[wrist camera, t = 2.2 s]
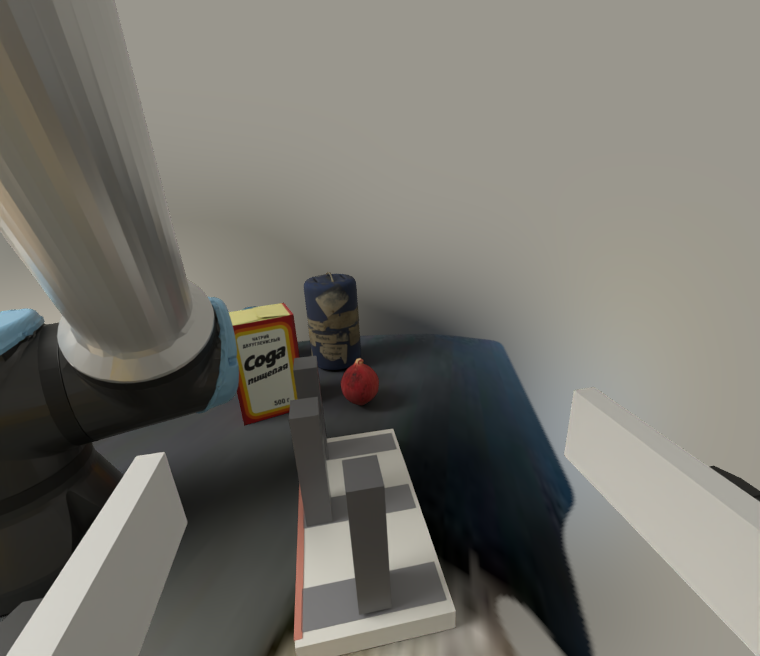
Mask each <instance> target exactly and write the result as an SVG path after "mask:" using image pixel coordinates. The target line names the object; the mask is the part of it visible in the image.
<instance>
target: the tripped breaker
mask: <svg viewBox="0 0 760 656" xmlns="http://www.w3.org/2000/svg"><path fill="white" fill-rule="evenodd" d="M342 466H343V475H344V484H345V493H346V502H347V511H348V520H349V529H350V538H351V547H352V556H353V565H354V574H355V583H356V592H357V601H358V609H359V615H361V614H366V613H370V612H375V611H379V610H384V609H388V608H392V604H391V587H390V570H389V554H388V537H387V520H386V503H385V487H384V482H383V478H382V474H381V470H380V466H379V462H378V458H377V455H372V456H365V457H359V458H353V459H347V460H342Z"/></svg>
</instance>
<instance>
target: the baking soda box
mask: <svg viewBox="0 0 760 656" xmlns="http://www.w3.org/2000/svg"><path fill="white" fill-rule="evenodd" d="M229 315H230V318H231V321H232V325H233V329H234V334H235V340H236V346H237V357H236V358H237V361H238V365H239V383H238V389H237V394H238V399H239V403H240V408H241V412H242V417H243V421H244V425H247V424H251V423H254V422H258V421H261V420H265V419H268V418H272V417H275V416H279V415H282V414H285V413H289V410H290V400H297V392H296V386H295V379H294V373H293V366H294V358H300V357H299V350H298V343H297V337H296V330H295V323H294V316H293V314H292V312H291V311H290V310H289V309H288V307H287V306H286V305H285V304H284V303H280V304H274V305H267V306H261V307H254V308H252V309H246V310H241V311H234V312H229Z"/></svg>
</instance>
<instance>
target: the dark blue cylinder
mask: <svg viewBox="0 0 760 656" xmlns="http://www.w3.org/2000/svg"><path fill="white" fill-rule="evenodd" d="M304 294H305V302H306V310H307V318H308V328H309V337H310V344H311V351H312V356H316V357H317V365H318V367H319V368H322V369H326V370H340V369H345V368H349V367H350V366H352V365H353V364H354V363H355V361H356V359H359V358H360V357H361V346H360V332H359V316H358V303H357V289H356V281H355V279H354V278H353V277H352V276H349V275H344V274H331V273H330V272H327V273H326V274H325V275H320V276H315V277H312V278H309V279H308V280H306V281H305V283H304Z"/></svg>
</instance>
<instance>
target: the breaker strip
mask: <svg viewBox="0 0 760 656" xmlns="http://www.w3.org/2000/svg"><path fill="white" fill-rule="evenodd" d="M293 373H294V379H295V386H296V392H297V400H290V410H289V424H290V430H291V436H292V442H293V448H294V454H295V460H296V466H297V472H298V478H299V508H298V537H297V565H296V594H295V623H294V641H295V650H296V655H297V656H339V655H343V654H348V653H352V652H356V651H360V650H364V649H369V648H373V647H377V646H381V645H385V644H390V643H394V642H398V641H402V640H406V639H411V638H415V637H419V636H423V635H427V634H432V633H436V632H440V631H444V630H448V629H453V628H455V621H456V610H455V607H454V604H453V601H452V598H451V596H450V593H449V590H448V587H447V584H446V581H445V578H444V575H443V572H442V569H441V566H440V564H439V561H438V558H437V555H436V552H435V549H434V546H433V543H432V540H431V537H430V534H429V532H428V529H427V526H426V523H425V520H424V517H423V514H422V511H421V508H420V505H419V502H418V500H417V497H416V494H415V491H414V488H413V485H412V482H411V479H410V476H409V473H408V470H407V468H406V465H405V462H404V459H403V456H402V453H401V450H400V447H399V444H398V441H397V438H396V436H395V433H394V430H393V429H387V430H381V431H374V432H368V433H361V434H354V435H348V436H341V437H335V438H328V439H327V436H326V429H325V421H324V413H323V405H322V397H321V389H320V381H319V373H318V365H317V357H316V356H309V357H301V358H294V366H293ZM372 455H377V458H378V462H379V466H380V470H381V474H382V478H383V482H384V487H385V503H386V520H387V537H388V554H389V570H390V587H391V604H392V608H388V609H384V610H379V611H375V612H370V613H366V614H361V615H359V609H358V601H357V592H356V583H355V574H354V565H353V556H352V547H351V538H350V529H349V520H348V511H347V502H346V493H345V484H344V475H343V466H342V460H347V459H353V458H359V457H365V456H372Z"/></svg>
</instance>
